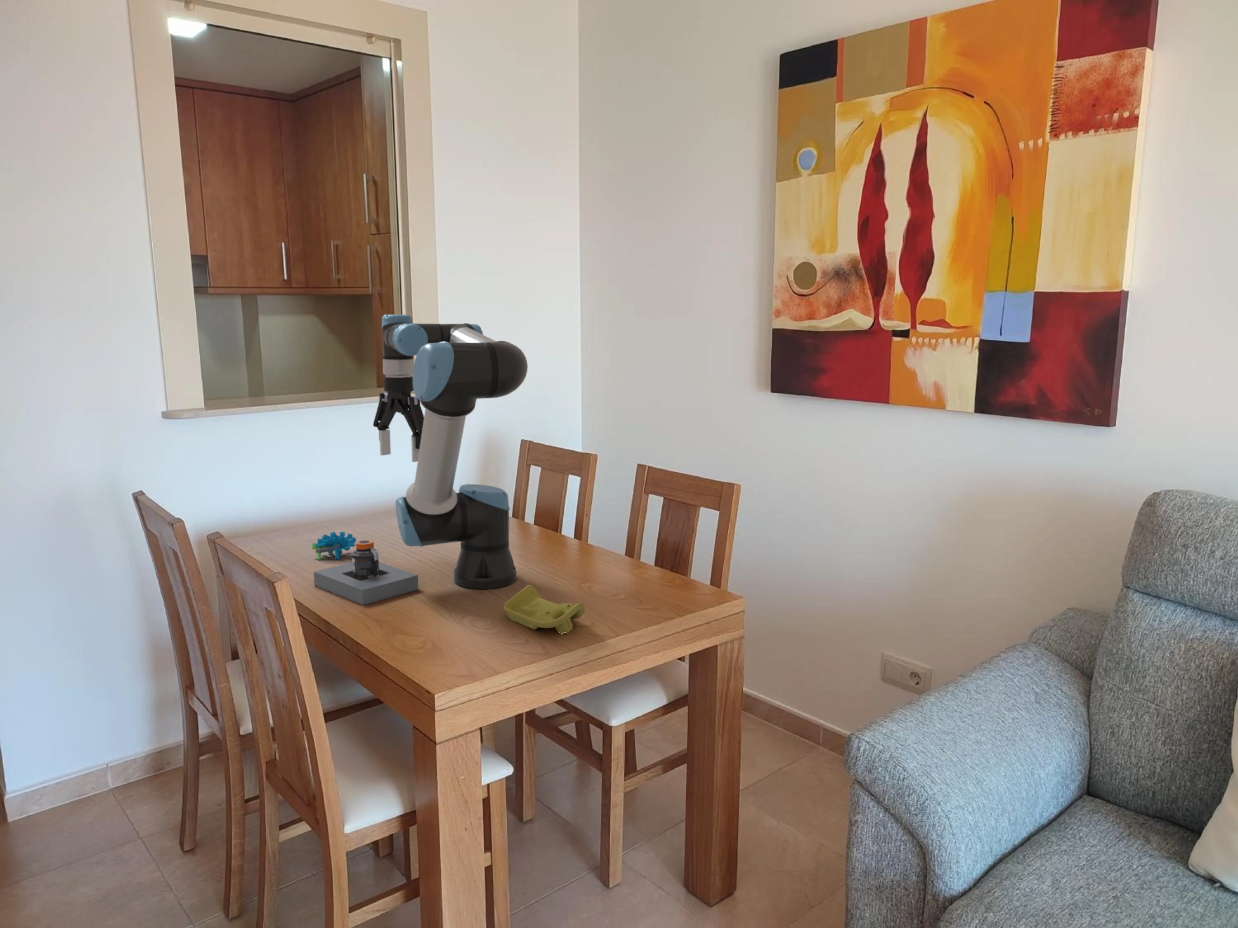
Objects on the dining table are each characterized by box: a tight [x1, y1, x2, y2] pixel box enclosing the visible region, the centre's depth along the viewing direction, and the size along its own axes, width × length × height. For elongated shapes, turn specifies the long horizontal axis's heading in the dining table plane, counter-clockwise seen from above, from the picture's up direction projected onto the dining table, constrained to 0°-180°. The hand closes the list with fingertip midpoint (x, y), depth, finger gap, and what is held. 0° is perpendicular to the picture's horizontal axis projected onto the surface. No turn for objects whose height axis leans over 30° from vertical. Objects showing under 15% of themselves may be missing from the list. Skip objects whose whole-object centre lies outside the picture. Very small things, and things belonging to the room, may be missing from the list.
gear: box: [311, 531, 357, 561], centre depth 228 cm, size 11×6×10 cm
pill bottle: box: [351, 539, 380, 581], centre depth 204 cm, size 6×6×11 cm
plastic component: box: [503, 584, 585, 634], centre depth 183 cm, size 20×7×10 cm
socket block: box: [313, 561, 419, 606], centre depth 205 cm, size 20×15×4 cm
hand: (401, 458), depth 225 cm, fingers open, 13 cm apart
